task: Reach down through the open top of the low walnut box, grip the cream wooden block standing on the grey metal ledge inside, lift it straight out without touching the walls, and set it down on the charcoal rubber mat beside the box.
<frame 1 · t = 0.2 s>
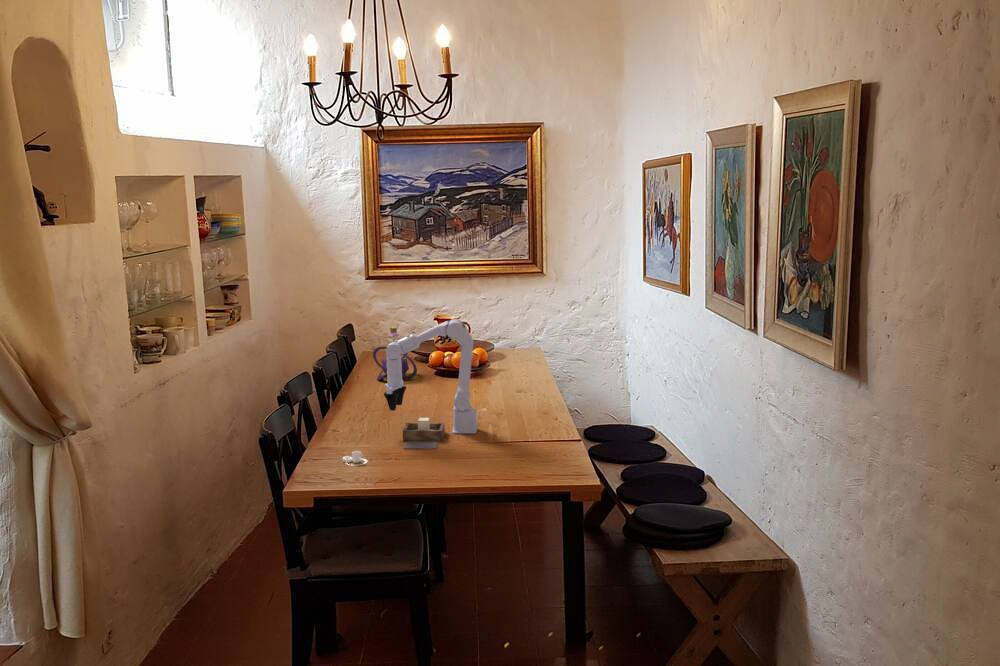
hand: (395, 407, 356), 10 cm above the table, tool pointing down, fingers open, 7 cm apart
walnut box: (424, 436, 352), on the table
cream block: (423, 431, 351), point 2 cm above the table, touching walnut box
charcoal mat: (420, 445, 341), on the table
decorative bottle: (395, 377, 447), on the table
teacup and saucer: (356, 461, 326), on the table
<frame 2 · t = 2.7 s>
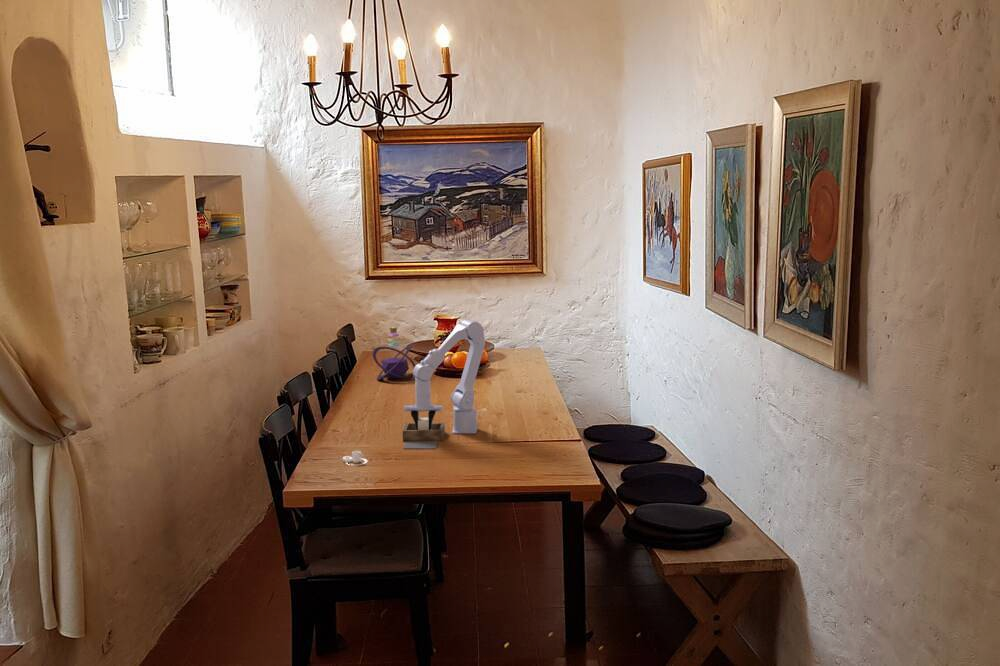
hand: (423, 429, 351), 3 cm above the table, tool pointing down, fingers closed on cream block, 4 cm apart
cream block: (423, 431, 351), point 2 cm above the table, touching gripper, walnut box
everything else where it was.
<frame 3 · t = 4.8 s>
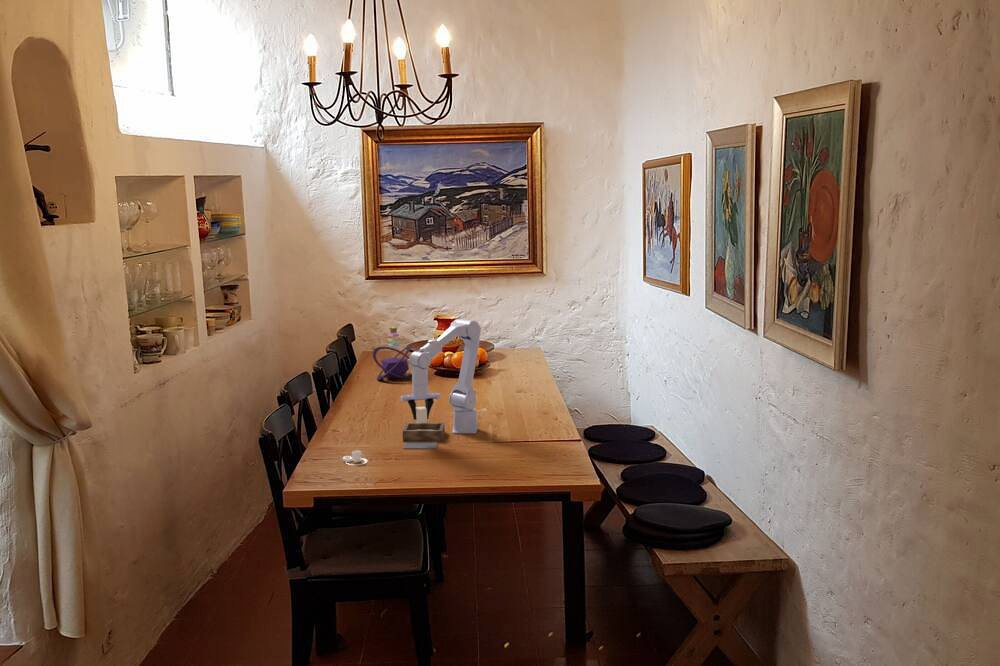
hand: (420, 418, 342), 9 cm above the table, tool pointing down, fingers closed on cream block, 4 cm apart
cream block: (420, 421, 342), point 9 cm above the table, touching gripper
everything else where it was.
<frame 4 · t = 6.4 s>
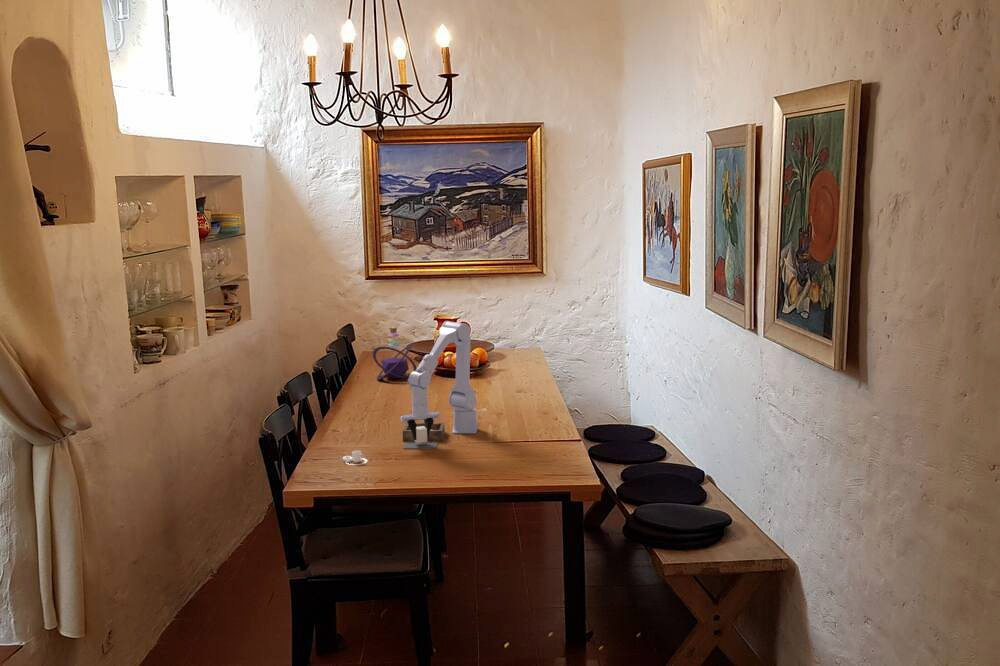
hand: (420, 438, 340), 3 cm above the table, tool pointing down, fingers closed on cream block, 4 cm apart
cream block: (420, 440, 341), point 2 cm above the table, touching gripper
everything else where it was.
when the fingers open (3 cm above the table, at t = 7.2 s): cream block drops 1 cm, resting on charcoal mat.
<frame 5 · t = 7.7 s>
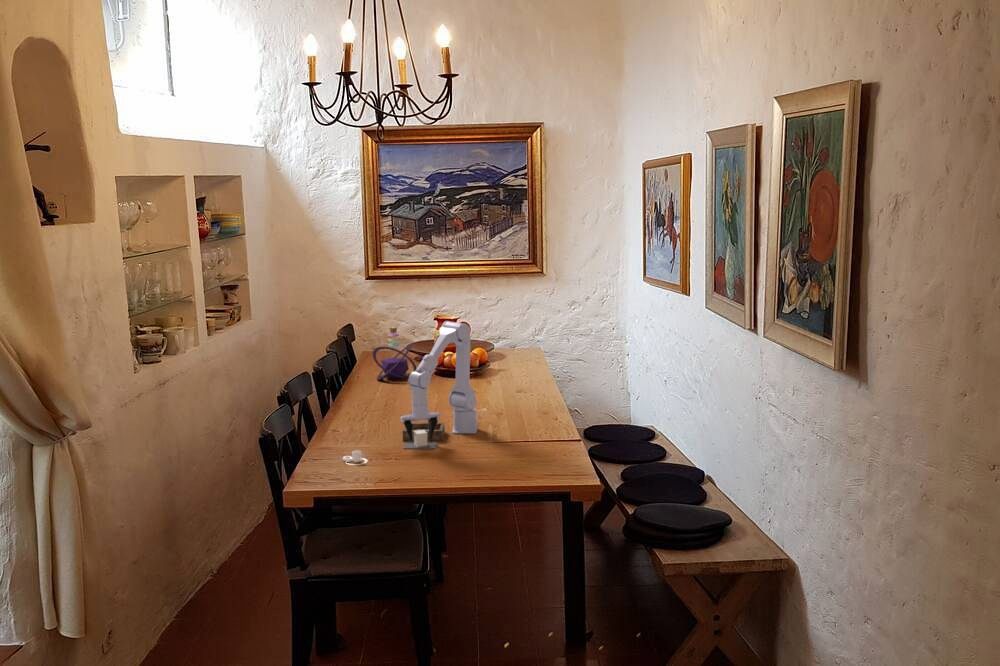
hand: (420, 438, 340), 3 cm above the table, tool pointing down, fingers open, 7 cm apart
cream block: (420, 444, 341), resting on charcoal mat
everything else where it was.
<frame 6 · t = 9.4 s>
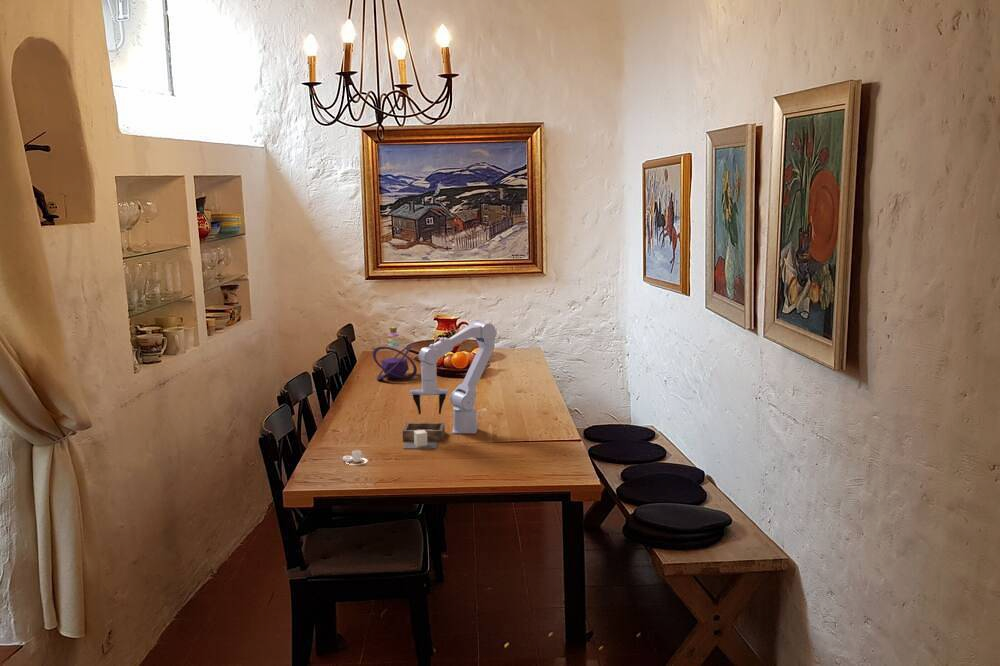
hand: (429, 413, 349), 9 cm above the table, tool pointing down, fingers open, 7 cm apart
nothing on the table moved.
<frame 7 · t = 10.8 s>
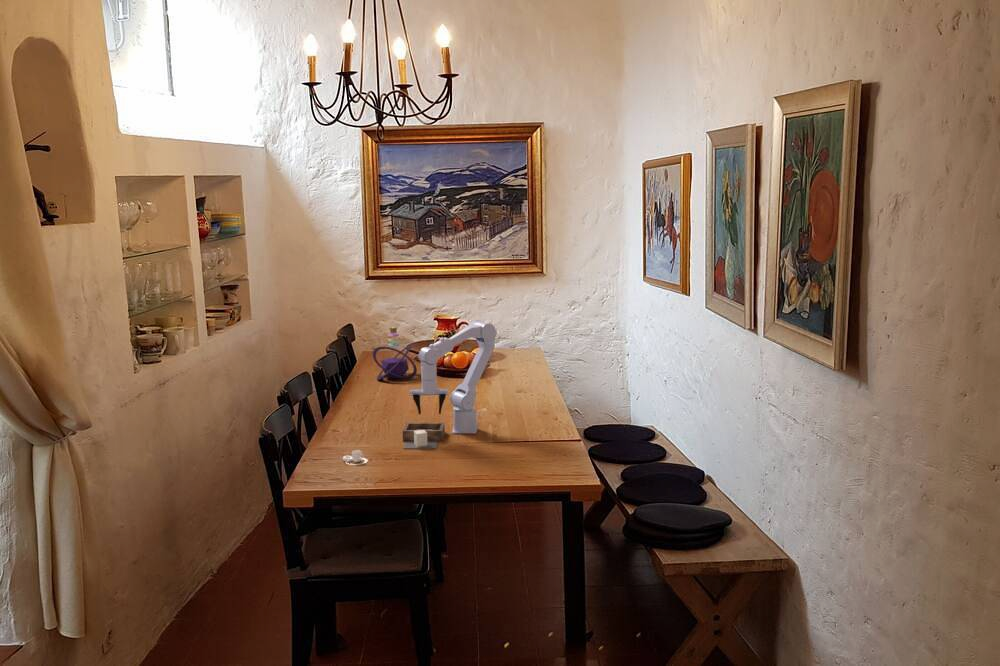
hand: (429, 413, 349), 9 cm above the table, tool pointing down, fingers open, 7 cm apart
nothing on the table moved.
at the end: cream block inside the target area on the charcoal mat (0.2 cm from its centre), point 0.3 cm above the charcoal mat's base; cream block tilted 0°; cream block touching charcoal mat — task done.
